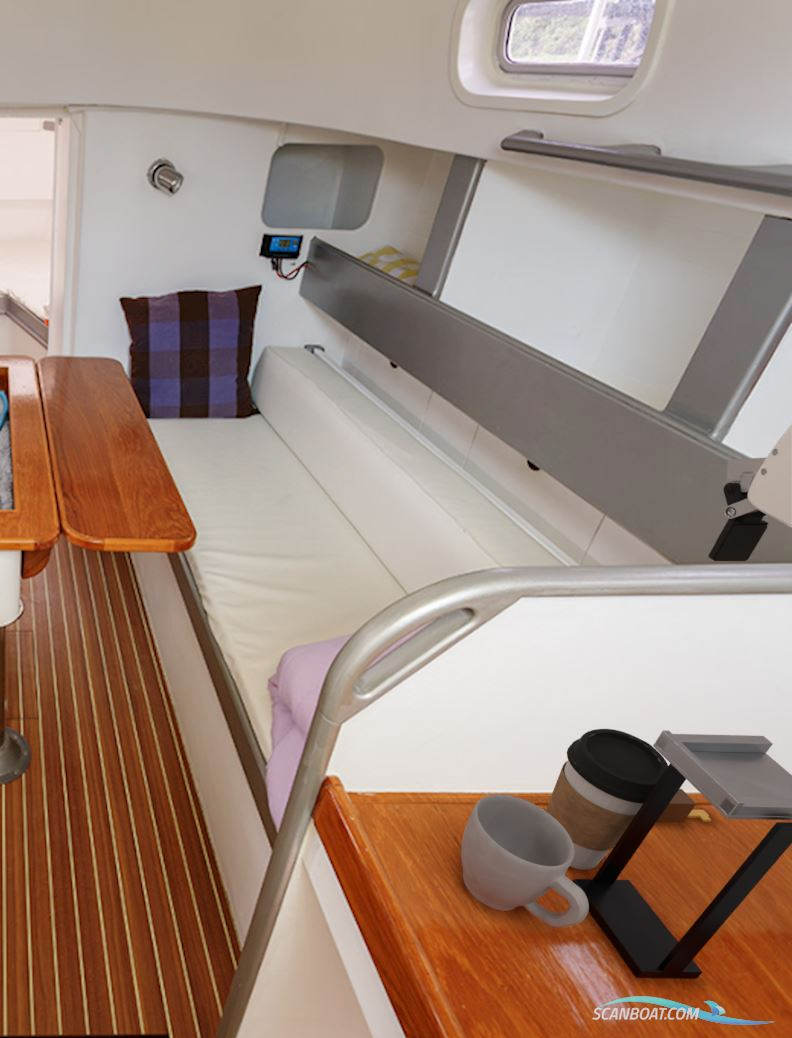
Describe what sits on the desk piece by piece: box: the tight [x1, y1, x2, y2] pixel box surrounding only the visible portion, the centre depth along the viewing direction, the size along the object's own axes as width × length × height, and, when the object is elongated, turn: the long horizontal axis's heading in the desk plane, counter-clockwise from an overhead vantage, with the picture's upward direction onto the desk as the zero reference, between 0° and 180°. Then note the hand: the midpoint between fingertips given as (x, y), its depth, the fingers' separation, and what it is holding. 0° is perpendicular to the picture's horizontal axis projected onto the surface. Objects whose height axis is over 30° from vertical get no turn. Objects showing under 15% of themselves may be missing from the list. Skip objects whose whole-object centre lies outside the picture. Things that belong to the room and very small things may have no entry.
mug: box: [460, 793, 589, 928], centre depth 75 cm, size 12×9×10 cm
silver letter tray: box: [652, 729, 792, 821], centre depth 64 cm, size 10×8×2 cm
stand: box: [571, 762, 792, 980], centre depth 69 cm, size 6×10×22 cm, turn 0°
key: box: [657, 788, 712, 823], centre depth 87 cm, size 8×2×3 cm, turn 90°
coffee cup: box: [545, 728, 669, 871], centre depth 80 cm, size 8×8×15 cm
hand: (776, 590), depth 62 cm, fingers open, 9 cm apart
